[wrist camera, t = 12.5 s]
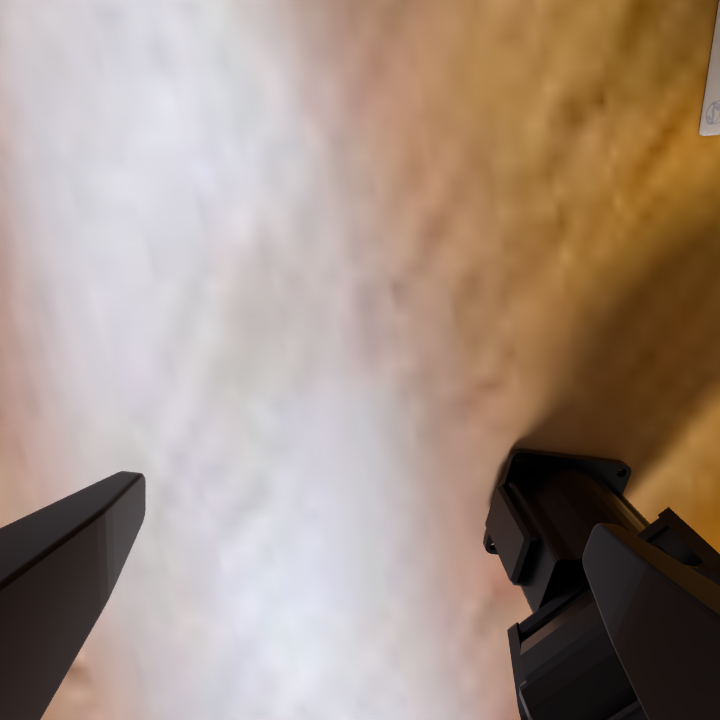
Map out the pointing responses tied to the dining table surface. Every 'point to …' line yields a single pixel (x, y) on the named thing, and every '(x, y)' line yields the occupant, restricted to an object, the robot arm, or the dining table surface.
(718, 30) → the light bulb box
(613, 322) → the dining table surface
